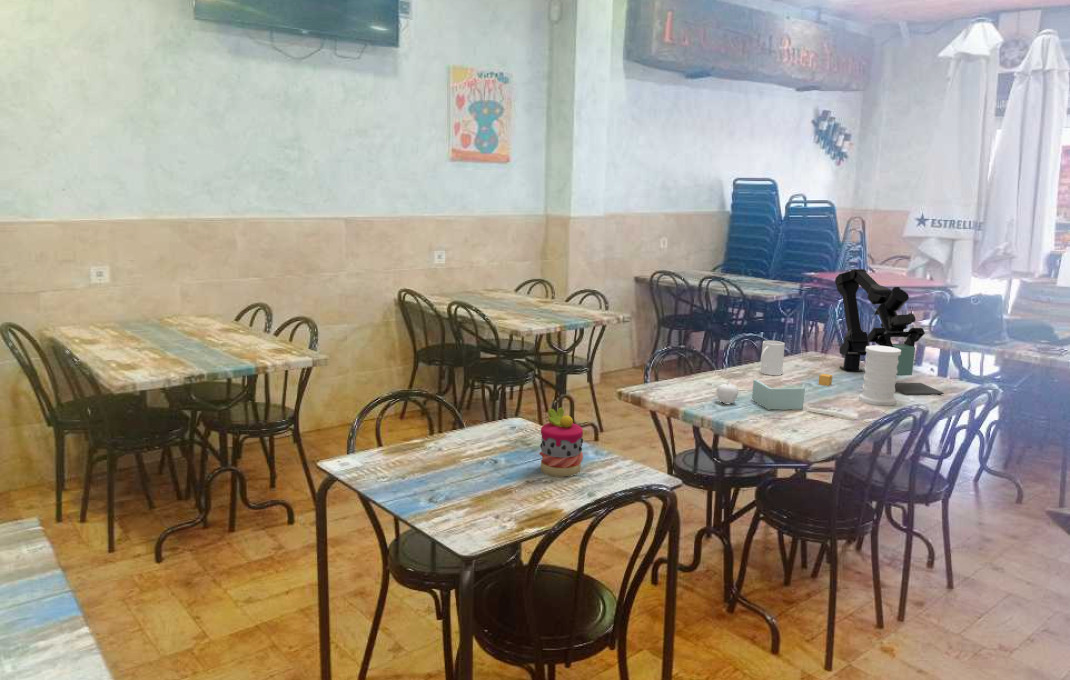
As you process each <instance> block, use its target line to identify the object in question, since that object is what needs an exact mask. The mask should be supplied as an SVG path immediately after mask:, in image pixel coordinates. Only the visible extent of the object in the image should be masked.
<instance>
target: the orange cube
mask: <svg viewBox="0 0 1070 680" xmlns="http://www.w3.org/2000/svg"><path fill="white" fill-rule="evenodd" d="M832 382H833V374H828V373H820V374H819V376H818V385H820V386H821V385H822V386H825V385H827V386H826V387H829V386H831V385H832Z"/></svg>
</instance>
